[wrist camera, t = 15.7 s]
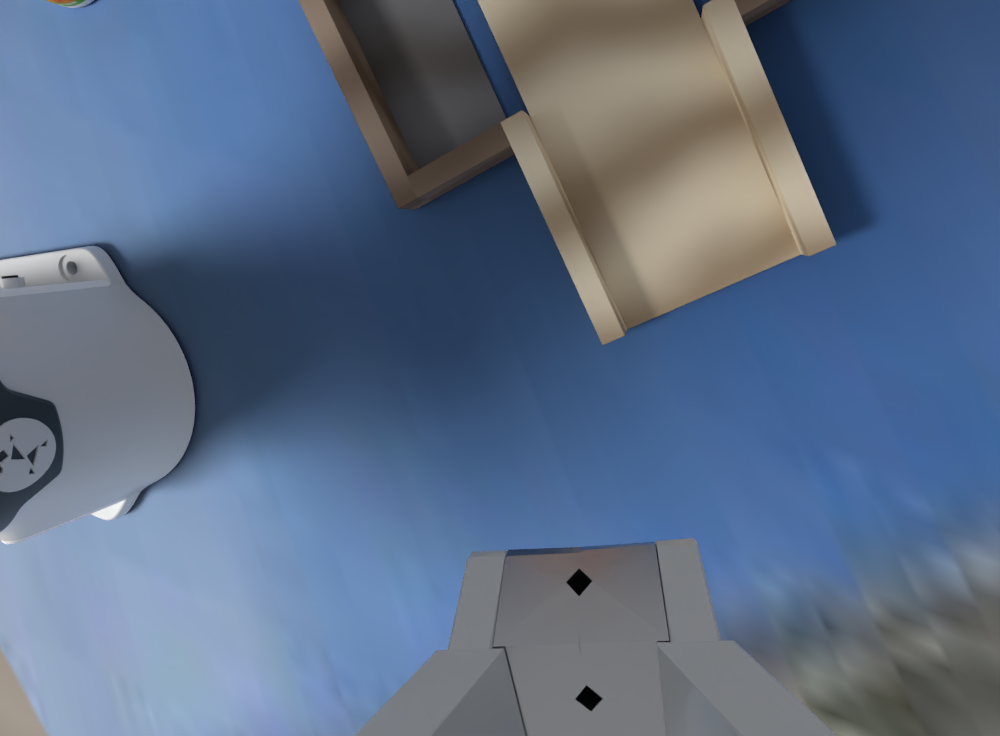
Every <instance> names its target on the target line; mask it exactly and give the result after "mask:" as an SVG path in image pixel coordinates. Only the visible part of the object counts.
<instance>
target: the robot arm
mask: <svg viewBox="0 0 1000 736" xmlns="http://www.w3.org/2000/svg"><path fill="white" fill-rule="evenodd" d="M76 265H77V268H76ZM194 418H195V397H194V388H193V383H192V378H191V374H190V371H189V367H188V364H187V362H186V359H185V357H184V354H183V352H182V350H181V348H180V346H179V344H178V342H177V340H176V338H175V337H174V335H173V334H172V332H171V331H170V329H169V328H168V326H167V325H166V324H165V322H164V321H163V320H162V319H161V318H160V316H159V315H158V314H157V313H156V312H155V311H154V310H153V309H152V308H151V307H150V306H149V305H147V304H146V303H145V302H144V301H143V300H142V299H140V298H139V297H138V296H137V295H136V294H135V293H134V292H133V291H132V290H131V289H130V288H129V287H128V286H127V285H126V283H125V282H124V280H123V278H122V276H121V274H120V273H119V271H118V269H117V267H116V266H115V264H114V263H113V261H112V260H111V258H110V257H109V255H108V254H107V253H106V252H105V251H104V250H103V249H101V248H100V247H97V246H86V247H79V248H73V249H66V250H60V251H54V252H47V253H41V254H34V255H28V256H21V257H15V258H8V259H2V260H0V541H2V542H3V543H5V544H13V543H18V542H21V541H24V540H27V539H29V538H32V537H34V536H37V535H39V534H42V533H44V532H47V531H49V530H52V529H55V528H57V527H60V526H62V525H65V524H67V523H70V522H72V521H75V520H77V519H79V518H82V517H84V516H87V515H89V514H91V515H94V516H96V517H98V518H101V519H104V520H112V519H115V518H118V517H120V516H123V515H125V514H126V513H127V512H128V511H129V510H130V509H131V507H132V506H133V504H134V502H135V501H136V499H137V497H138V496H139V494H140V492H141V491H142V490H143V489H144V488H146V487H147V486H149V485H151V484H152V483H154V482H156V481H158V480H159V479H161V478H163V477H164V476H165V475H167V474H168V473H169V472H170V471H171V470H172V469H173V468H174V467H175V466H176V465H177V464H178V462H179V461H180V459H181V458H182V456H183V455H184V453H185V451H186V449H187V446H188V444H189V441H190V438H191V435H192V431H193V426H194ZM355 736H837V735H836V734H835V733H834V732H832V731H831V730H830V729H829V728H828V727H827V726H826V725H825V724H824V723H823V722H822V721H820V720H819V719H818V718H817V717H816V716H815V715H814V714H813V713H812V712H811V711H810V710H809V709H807V708H806V707H805V706H804V705H803V704H802V703H801V702H800V701H799V700H798V699H797V698H796V697H794V696H793V695H792V694H791V693H790V692H789V691H788V690H787V689H786V688H785V687H784V686H783V685H781V684H780V683H779V682H778V681H777V680H776V679H775V678H774V677H773V676H772V675H771V674H770V673H768V672H767V671H766V670H765V669H764V668H763V667H762V666H761V665H760V664H759V663H758V662H757V661H755V660H754V659H753V658H752V657H751V656H750V655H749V654H748V653H747V652H746V651H745V650H743V649H742V648H741V647H740V646H739V645H738V644H737V643H736V642H735V641H721V639H720V635H719V631H718V626H717V622H716V618H715V614H714V610H713V605H712V601H711V597H710V593H709V589H708V584H707V580H706V576H705V572H704V568H703V563H702V559H701V555H700V551H699V546H698V543H697V542H696V541H695V539H694V538H690V539H677V540H665V541H656V544H655V543H654V542H645V543H631V544H616V545H601V546H587V547H570V548H543V549H516V550H508V551H482V552H472V553H471V555H470V557H469V558H468V560H467V563H466V568H465V573H464V577H463V582H462V586H461V591H460V596H459V600H458V605H457V610H456V614H455V619H454V623H453V628H452V633H451V637H450V642H449V646H448V650H440V651H436V652H435V653H434V654H433V655H432V656H431V657H430V658H429V659H428V660H427V661H426V662H425V663H424V664H423V665H422V666H421V667H420V668H419V669H418V670H417V672H416V673H415V674H414V675H413V676H412V677H411V678H410V679H409V680H408V681H407V682H406V683H405V684H404V685H403V686H402V687H401V688H400V689H399V690H398V691H397V692H396V693H395V694H394V695H393V696H392V697H391V698H390V700H389V701H388V702H387V703H386V704H385V705H384V706H383V707H382V708H381V709H380V710H379V711H378V712H377V713H376V714H375V715H374V716H373V717H372V718H371V719H370V720H369V721H368V722H367V723H366V724H365V725H364V726H363V727H362V729H361V730H360V731H359V732H358V733H357V734H356V735H355Z"/></svg>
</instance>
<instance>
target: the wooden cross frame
mask: <svg viewBox="0 0 1000 736" xmlns="http://www.w3.org/2000/svg"><path fill="white" fill-rule="evenodd" d="M790 1H792V0H711V1H710V2H708V3H706V4H704V5H703V9H702V15H701V18H700V16H699V13H698V11H697V9H696V6H695V4H694V2H693V0H478V2H479V5H480V7H481V9H482V11H483V13H484V16H485V18H486V20H487V22H488V24H489V27H490V29H491V31H492V33H493V35H494V38H495V40H496V42H497V44H498V46H499V49H500V51H501V53H502V55H503V57H504V60H505V62H506V64H507V66H508V68H509V71H510V73H511V75H512V77H513V79H514V82H515V84H516V86H517V88H518V90H519V93H520V95H521V97H522V99H523V101H524V104H525V106H526V108H527V110H528V112H529V115H530V116H529V115H528V114H526V113H525V112H524V111H523V110H521V111H519V112H518V113H516V114H514V115H513V116H511V117H509V118H506V116H505V114H504V112H503V109H502V107H501V105H500V103H499V101H498V98H497V96H496V94H495V92H494V90H493V88H492V85H491V83H490V81H489V79H488V77H487V74H486V72H485V70H484V68H483V66H482V64H481V61H480V59H479V57H478V55H477V53H476V50H475V48H474V46H473V44H472V42H471V40H470V37H469V35H468V33H467V31H466V29H465V26H464V24H463V22H462V20H461V18H460V16H459V13H458V11H457V9H456V7H455V5H454V2H453V0H299V3H300V5H301V7H302V9H303V11H304V13H305V15H306V17H307V19H308V21H309V23H310V26H311V28H312V30H313V32H314V34H315V36H316V38H317V40H318V42H319V44H320V46H321V48H322V51H323V53H324V55H325V57H326V59H327V61H328V63H329V65H330V67H331V69H332V71H333V73H334V76H335V78H336V80H337V82H338V84H339V86H340V88H341V90H342V92H343V94H344V96H345V98H346V101H347V103H348V105H349V107H350V109H351V111H352V113H353V115H354V117H355V119H356V121H357V124H358V126H359V128H360V130H361V132H362V134H363V136H364V138H365V140H366V142H367V144H368V146H369V149H370V151H371V153H372V155H373V157H374V159H375V161H376V163H377V165H378V167H379V169H380V171H381V174H382V176H383V178H384V180H385V182H386V184H387V186H388V188H389V190H390V192H391V194H392V196H393V199H394V201H395V203H396V205H397V207H398V209H411V210H416V209H418V208H420V207H421V206H423V205H425V204H427V203H429V202H430V201H432V200H434V199H436V198H438V197H439V196H441V195H443V194H445V193H447V192H448V191H450V190H452V189H454V188H456V187H457V186H459V185H461V184H463V183H465V182H466V181H468V180H470V179H472V178H474V177H475V176H477V175H479V174H481V173H483V172H484V171H486V170H488V169H490V168H492V167H493V166H495V165H497V164H499V163H501V162H502V161H504V160H506V159H508V158H510V157H511V156H513V155H515V156H516V158H517V160H518V162H519V164H520V167H521V169H522V171H523V173H524V175H525V177H526V180H527V182H528V184H529V186H530V188H531V190H532V193H533V195H534V197H535V199H536V201H537V204H538V206H539V208H540V210H541V212H542V214H543V217H544V219H545V221H546V223H547V225H548V227H549V230H550V232H551V234H552V236H553V238H554V241H555V243H556V245H557V247H558V249H559V251H560V254H561V256H562V258H563V260H564V262H565V265H566V267H567V269H568V271H569V273H570V275H571V278H572V280H573V282H574V284H575V286H576V288H577V291H578V293H579V295H580V297H581V299H582V302H583V304H584V306H585V308H586V310H587V312H588V315H589V317H590V319H591V321H592V323H593V325H594V328H595V330H596V332H597V334H598V336H599V339H600V341H601V343H602V345H604V344H606V343H609V342H611V341H613V340H616V339H618V338H620V337H623V336H625V334H626V331H627V329H629V328H632V327H634V326H636V325H639V324H641V323H643V322H646V321H648V320H650V319H653V318H655V317H657V316H660V315H662V314H664V313H666V312H669V311H671V310H673V309H676V308H678V307H680V306H683V305H685V304H687V303H690V302H692V301H694V300H697V299H699V298H701V297H703V296H706V295H708V294H710V293H713V292H715V291H717V290H720V289H722V288H724V287H727V286H729V285H731V284H734V283H736V282H738V281H740V280H743V279H745V278H747V277H750V276H752V275H754V274H757V273H759V272H761V271H764V270H766V269H768V268H771V267H773V266H775V265H777V264H780V263H782V262H784V261H787V260H789V259H791V258H794V257H796V256H798V255H806V256H811V255H813V254H816V253H818V252H820V251H823V250H825V249H827V248H830V247H832V246H834V245H837V244H836V242H835V240H834V237H833V235H832V232H831V230H830V228H829V225H828V223H827V220H826V218H825V216H824V213H823V211H822V208H821V206H820V204H819V201H818V199H817V197H816V194H815V192H814V189H813V187H812V185H811V182H810V180H809V177H808V175H807V173H806V170H805V168H804V165H803V163H802V161H801V158H800V156H799V154H798V151H797V149H796V146H795V144H794V142H793V139H792V137H791V134H790V132H789V130H788V127H787V125H786V123H785V120H784V118H783V115H782V113H781V111H780V108H779V106H778V103H777V101H776V99H775V96H774V94H773V91H772V89H771V87H770V84H769V82H768V80H767V77H766V75H765V72H764V70H763V68H762V65H761V63H760V60H759V58H758V56H757V53H756V51H755V48H754V46H753V44H752V41H751V39H750V37H749V34H748V32H747V29H746V27H745V26H747V25H749V24H751V23H752V22H754V21H756V20H758V19H760V18H761V17H763V16H765V15H767V14H769V13H770V12H772V11H774V10H776V9H778V8H779V7H781V6H783V5H785V4H787V3H788V2H790Z"/></svg>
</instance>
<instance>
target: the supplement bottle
mask: <svg viewBox="0 0 1000 736" xmlns="http://www.w3.org/2000/svg"><path fill="white" fill-rule="evenodd" d="M47 1H49V2H52V3H55V4H58V5H61V6H64V7H68V8H79V7H83V6H86V5H88V4H90V3H91V2H92V1H94V0H47Z"/></svg>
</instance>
